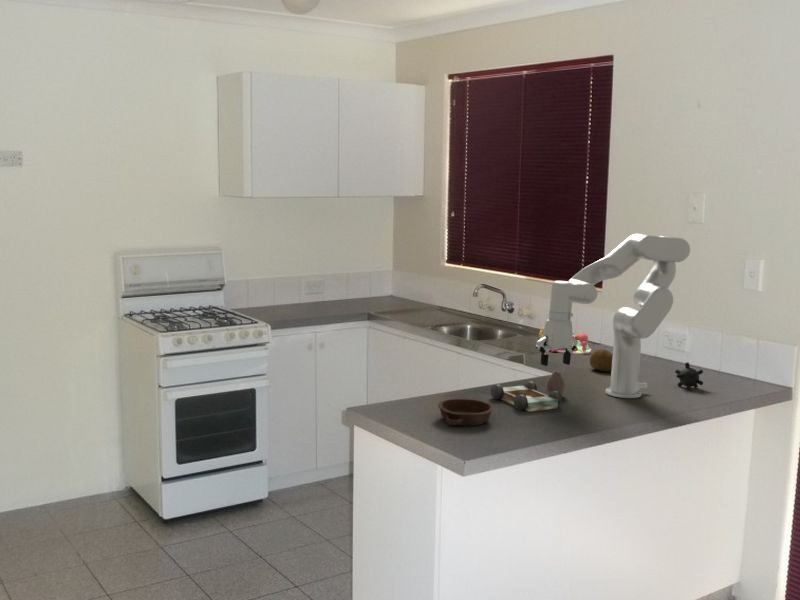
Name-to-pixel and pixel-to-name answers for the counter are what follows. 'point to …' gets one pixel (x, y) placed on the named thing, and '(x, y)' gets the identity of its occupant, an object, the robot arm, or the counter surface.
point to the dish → (465, 411)
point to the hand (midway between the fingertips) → (555, 364)
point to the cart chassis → (527, 397)
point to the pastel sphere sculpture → (580, 347)
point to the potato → (601, 360)
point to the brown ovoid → (556, 383)
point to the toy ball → (689, 377)
